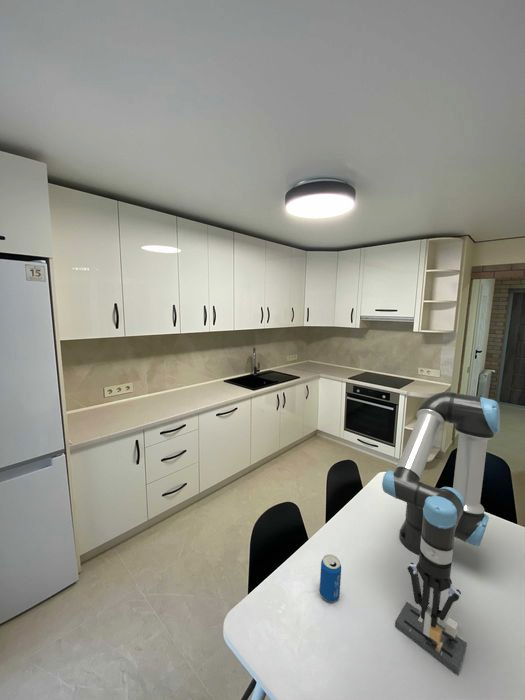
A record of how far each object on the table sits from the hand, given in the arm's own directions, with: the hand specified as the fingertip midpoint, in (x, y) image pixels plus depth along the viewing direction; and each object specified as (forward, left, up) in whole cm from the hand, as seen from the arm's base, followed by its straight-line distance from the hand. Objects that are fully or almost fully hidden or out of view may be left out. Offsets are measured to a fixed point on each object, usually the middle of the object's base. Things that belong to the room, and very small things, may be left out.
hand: (427, 631), depth 82 cm
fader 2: (+4, +5, -2) cm, 7 cm away
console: (0, +2, -4) cm, 4 cm away
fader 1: (+2, 0, -2) cm, 3 cm away
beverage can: (-27, -8, -4) cm, 28 cm away
